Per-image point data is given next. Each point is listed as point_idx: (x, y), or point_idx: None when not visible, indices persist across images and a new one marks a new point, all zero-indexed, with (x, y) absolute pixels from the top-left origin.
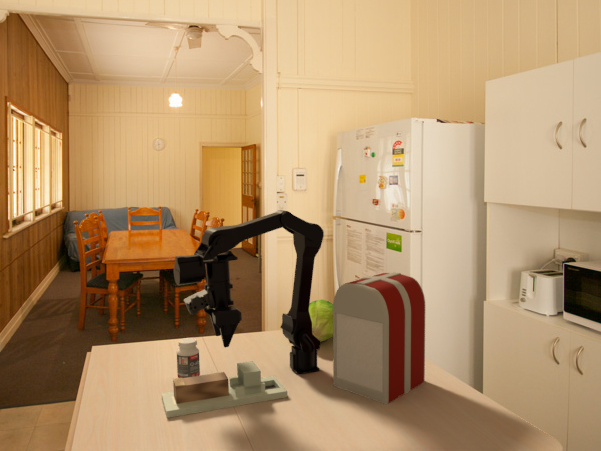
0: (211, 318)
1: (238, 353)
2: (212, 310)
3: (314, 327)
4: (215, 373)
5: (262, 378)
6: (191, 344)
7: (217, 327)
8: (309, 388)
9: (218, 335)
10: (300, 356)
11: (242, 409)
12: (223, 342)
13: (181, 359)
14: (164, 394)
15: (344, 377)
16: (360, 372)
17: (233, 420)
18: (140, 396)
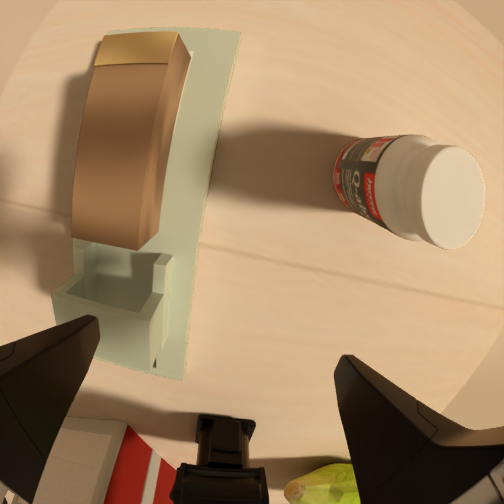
0: (421, 432)
1: (409, 358)
2: (446, 494)
3: (297, 500)
4: (137, 211)
5: (177, 353)
6: (413, 196)
7: (358, 404)
8: (121, 394)
9: (337, 366)
10: (205, 451)
11: (62, 231)
12: (61, 325)
13: (387, 140)
14: (226, 37)
15: (98, 436)
16: (67, 445)
17: (29, 191)
18: (302, 7)
